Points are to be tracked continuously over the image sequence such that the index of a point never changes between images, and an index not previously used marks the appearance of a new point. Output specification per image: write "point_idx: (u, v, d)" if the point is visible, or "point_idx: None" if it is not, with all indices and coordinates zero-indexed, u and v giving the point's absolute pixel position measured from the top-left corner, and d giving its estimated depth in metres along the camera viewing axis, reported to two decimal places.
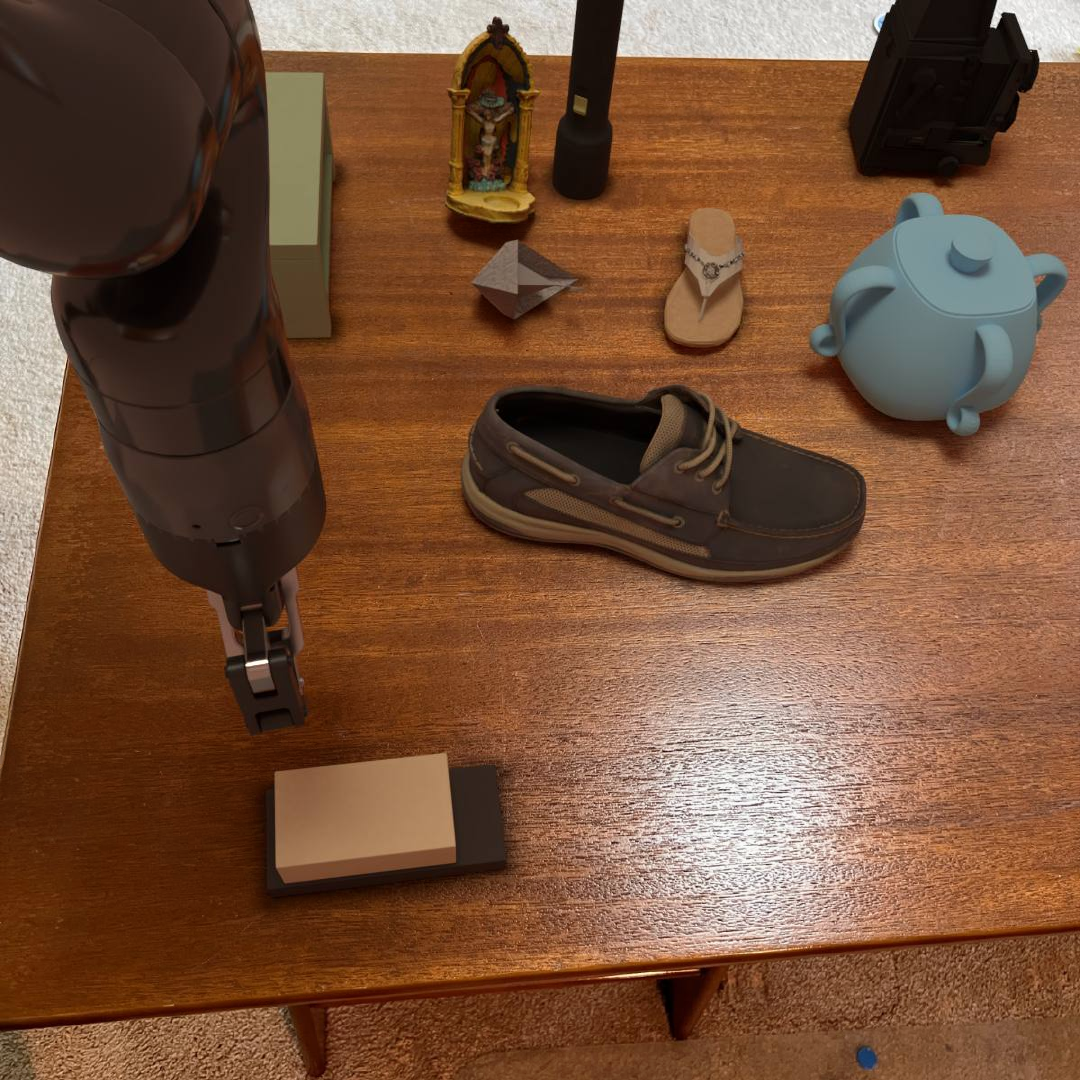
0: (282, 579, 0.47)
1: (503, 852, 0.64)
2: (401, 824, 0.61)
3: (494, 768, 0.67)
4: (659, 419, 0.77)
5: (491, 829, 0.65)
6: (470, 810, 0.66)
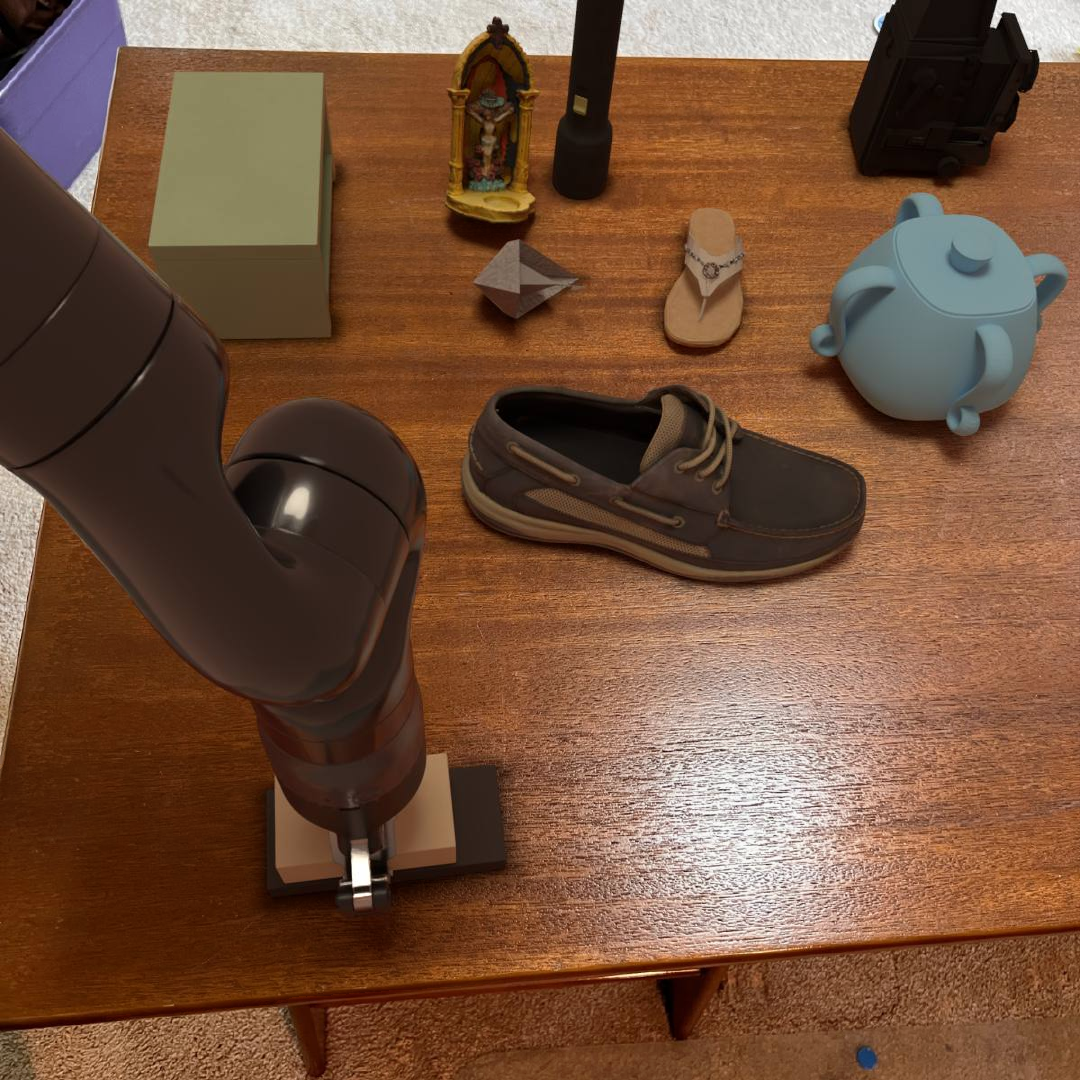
0: None
1: (503, 852, 0.64)
2: (400, 825, 0.61)
3: (494, 768, 0.67)
4: (659, 419, 0.77)
5: (491, 829, 0.65)
6: (470, 810, 0.66)
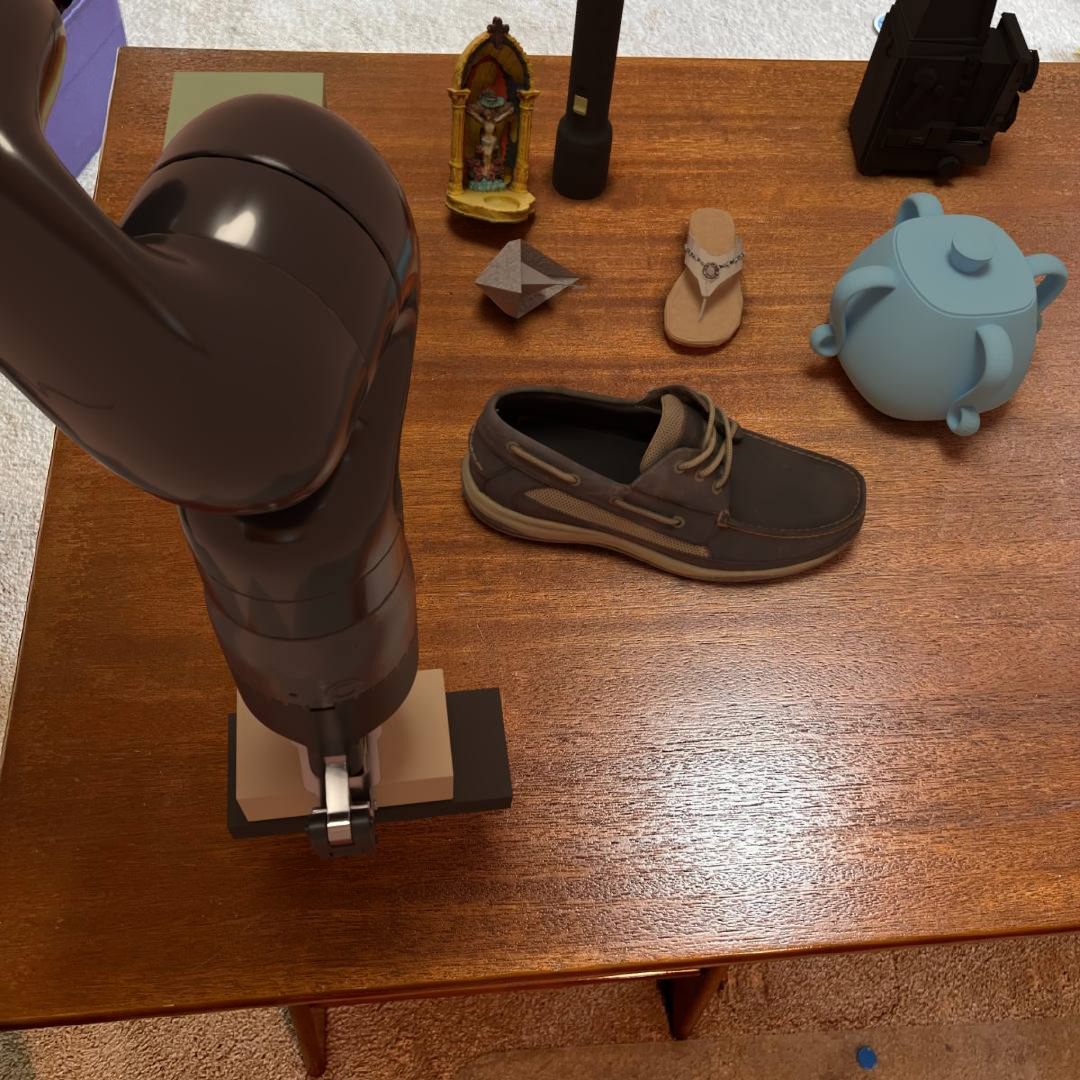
0: None
1: (509, 787, 0.54)
2: (387, 750, 0.51)
3: (498, 691, 0.57)
4: (659, 419, 0.77)
5: (495, 761, 0.55)
6: (470, 739, 0.55)
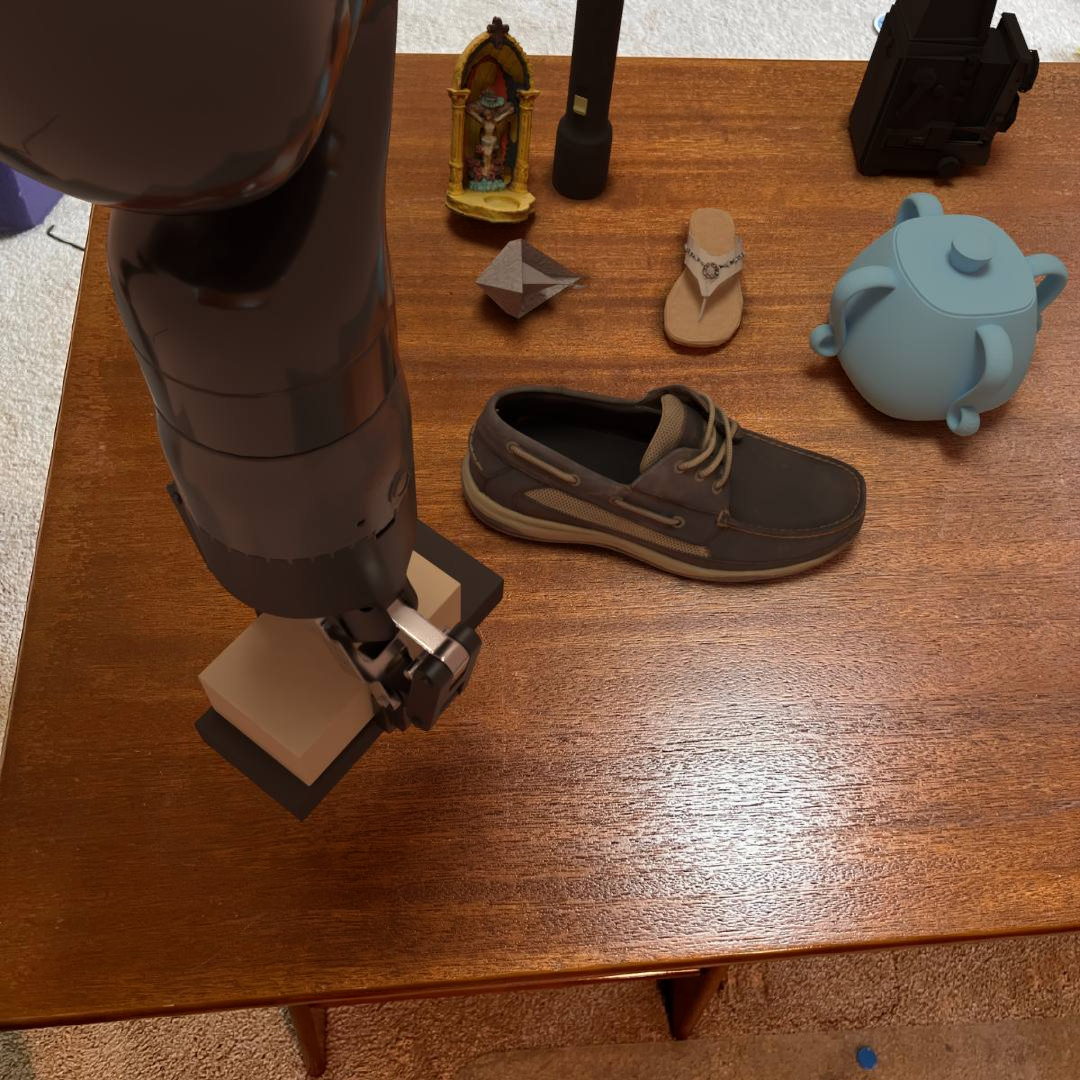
0: None
1: (495, 575, 0.51)
2: None
3: None
4: (659, 419, 0.77)
5: (463, 565, 0.51)
6: None
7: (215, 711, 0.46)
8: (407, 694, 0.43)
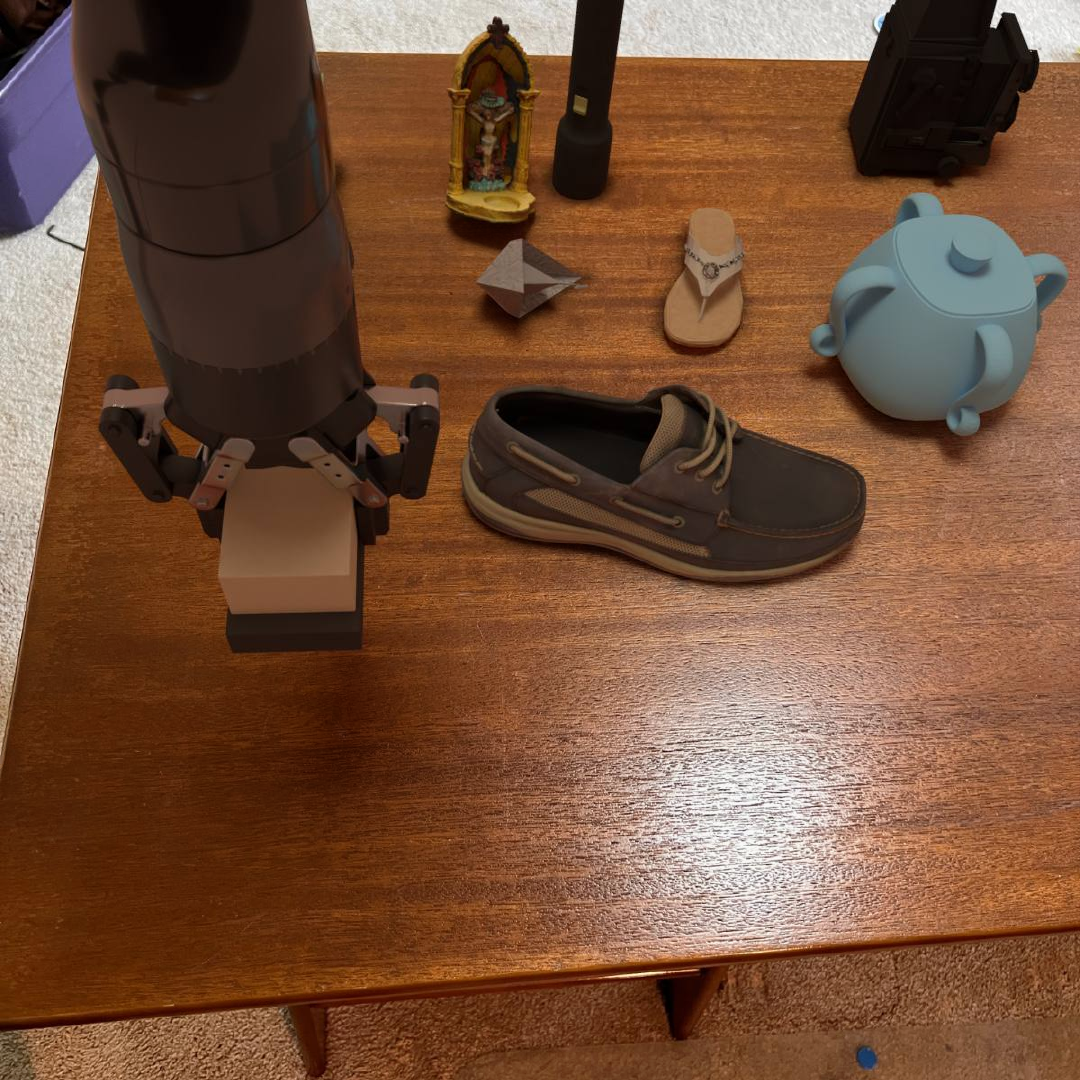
0: None
1: None
2: None
3: None
4: (659, 419, 0.77)
5: None
6: None
7: (234, 615, 0.49)
8: (391, 478, 0.48)
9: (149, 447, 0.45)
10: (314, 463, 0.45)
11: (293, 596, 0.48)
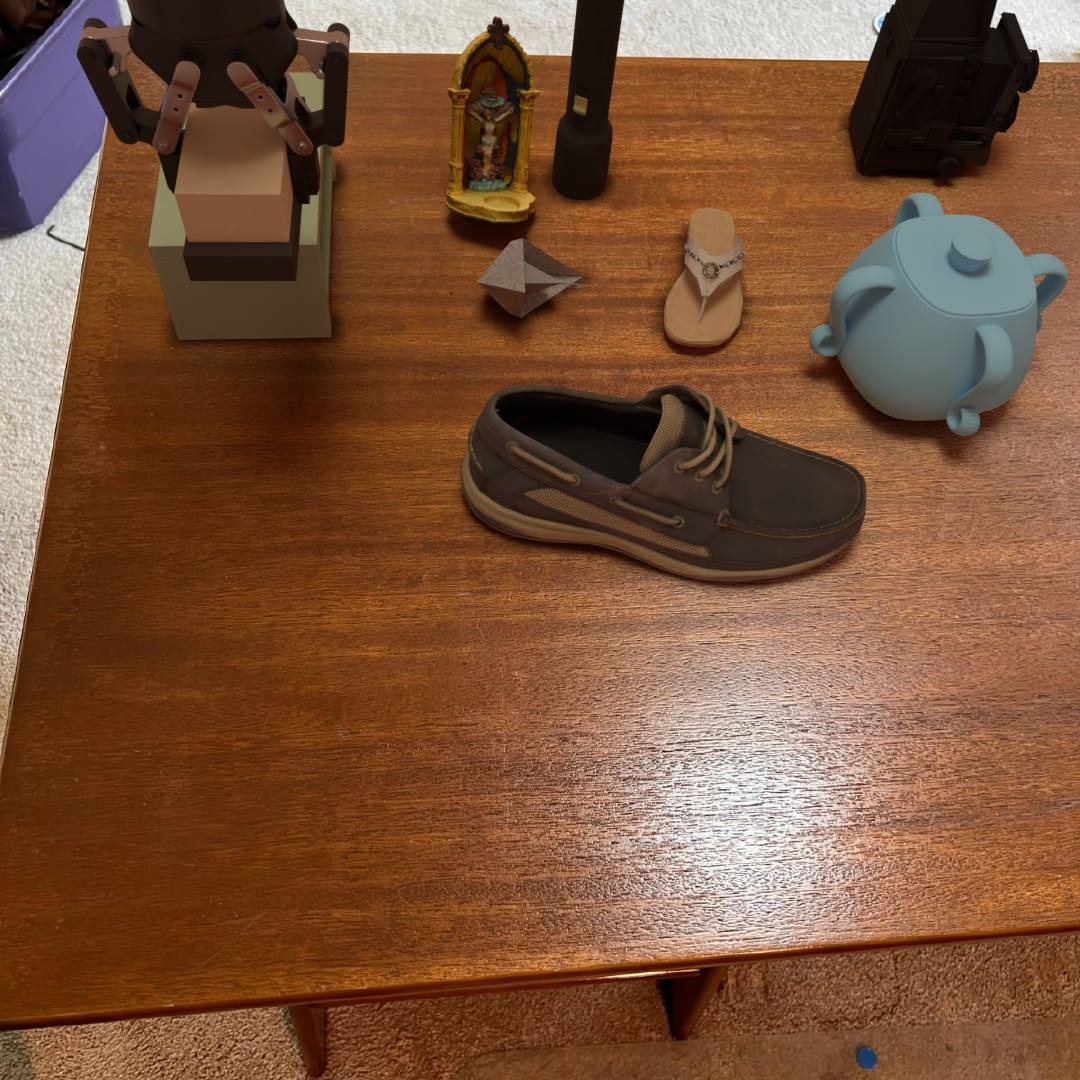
0: None
1: None
2: None
3: None
4: (659, 419, 0.77)
5: None
6: None
7: (190, 242, 0.60)
8: (316, 126, 0.60)
9: (118, 83, 0.57)
10: (250, 95, 0.57)
11: (237, 220, 0.59)
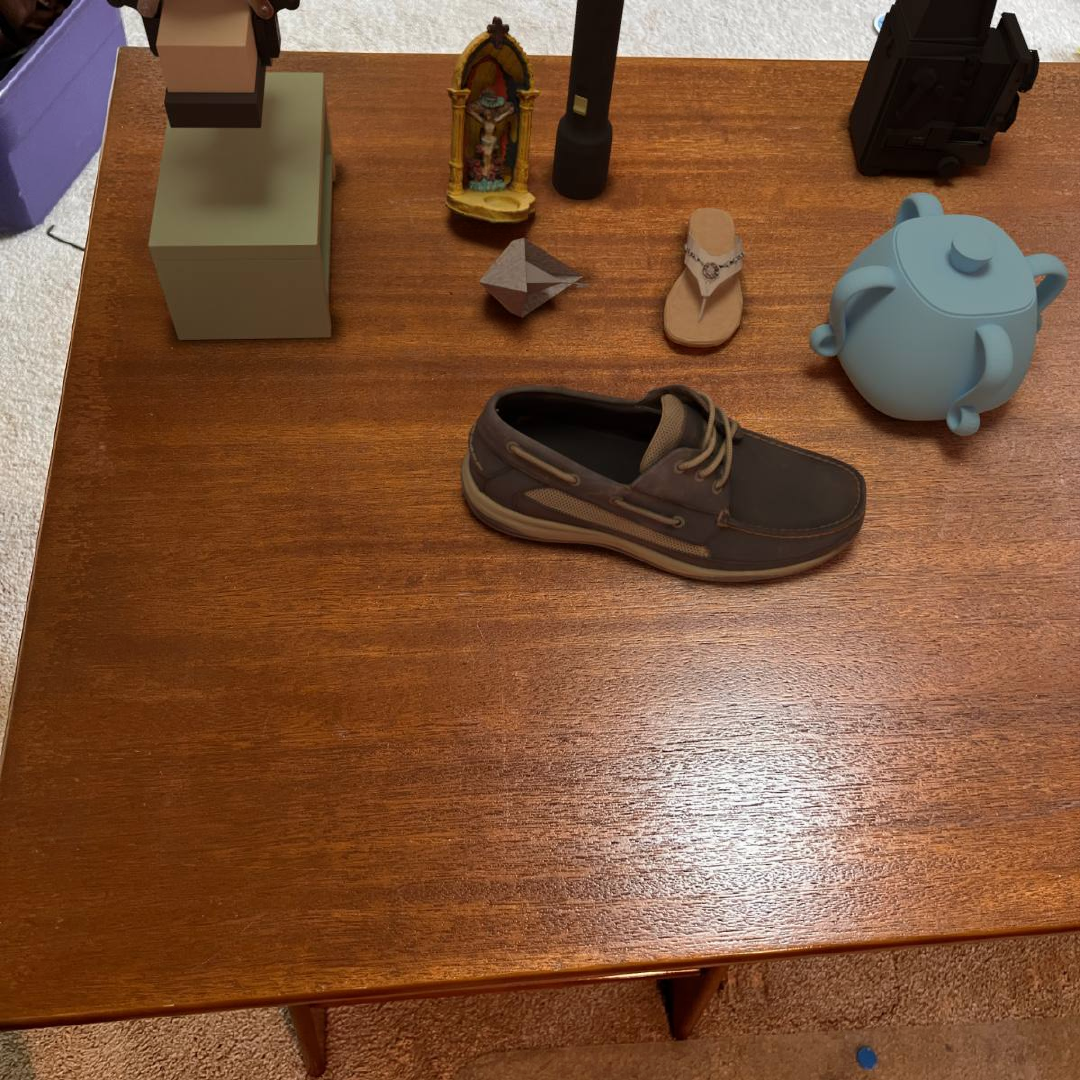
0: None
1: None
2: None
3: None
4: (659, 419, 0.77)
5: None
6: None
7: (170, 92, 0.71)
8: None
9: None
10: None
11: (209, 71, 0.70)
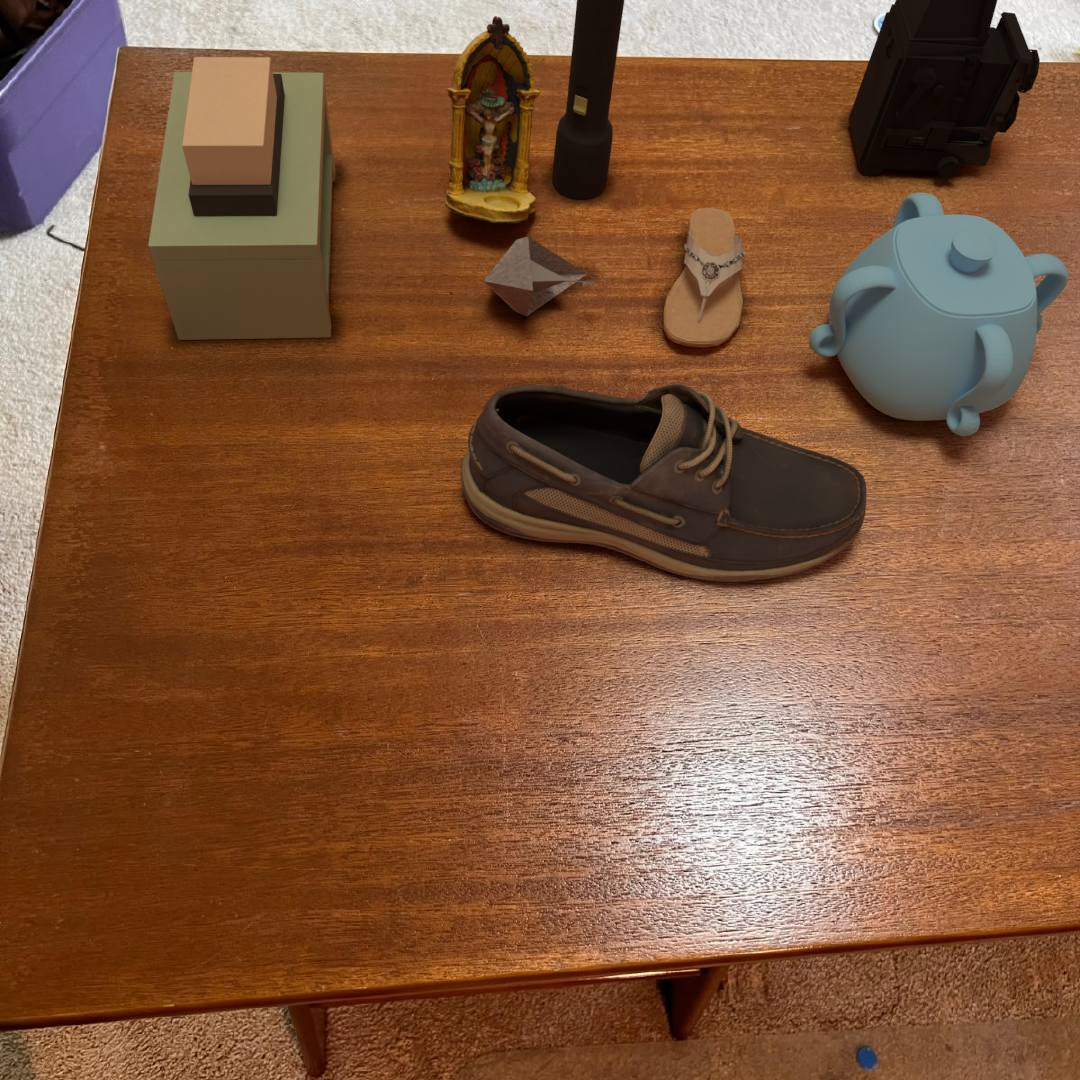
0: None
1: (275, 74, 0.85)
2: (246, 81, 0.79)
3: None
4: (659, 419, 0.77)
5: None
6: None
7: (194, 185, 0.78)
8: None
9: None
10: None
11: (230, 167, 0.77)
